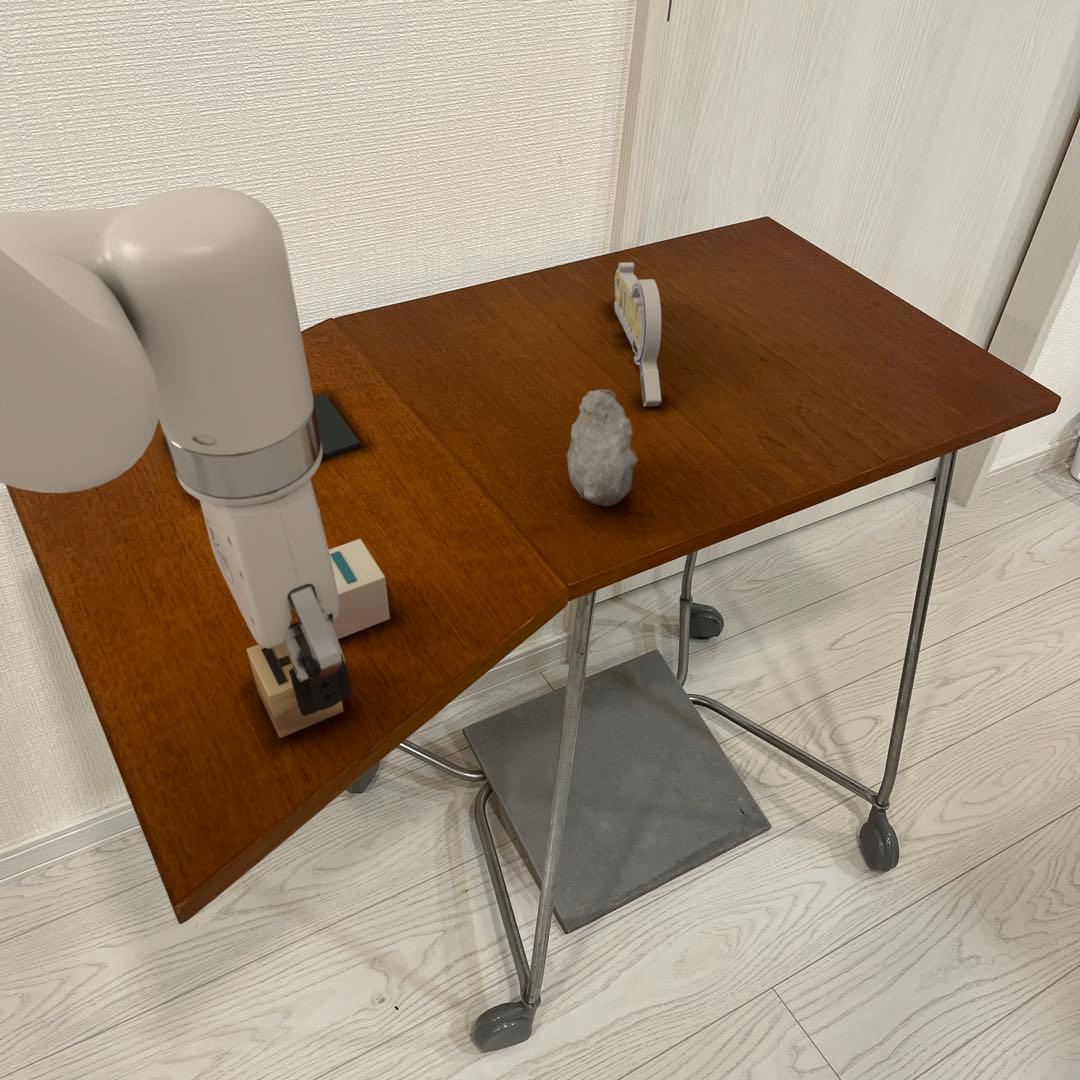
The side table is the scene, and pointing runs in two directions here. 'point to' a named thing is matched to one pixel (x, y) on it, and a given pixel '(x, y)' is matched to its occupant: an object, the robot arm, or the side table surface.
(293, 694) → the letter h
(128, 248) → the robot arm
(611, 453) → the stone
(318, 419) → the word mat
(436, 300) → the side table surface
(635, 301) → the decorative sign
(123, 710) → the side table surface
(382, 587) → the letter i
